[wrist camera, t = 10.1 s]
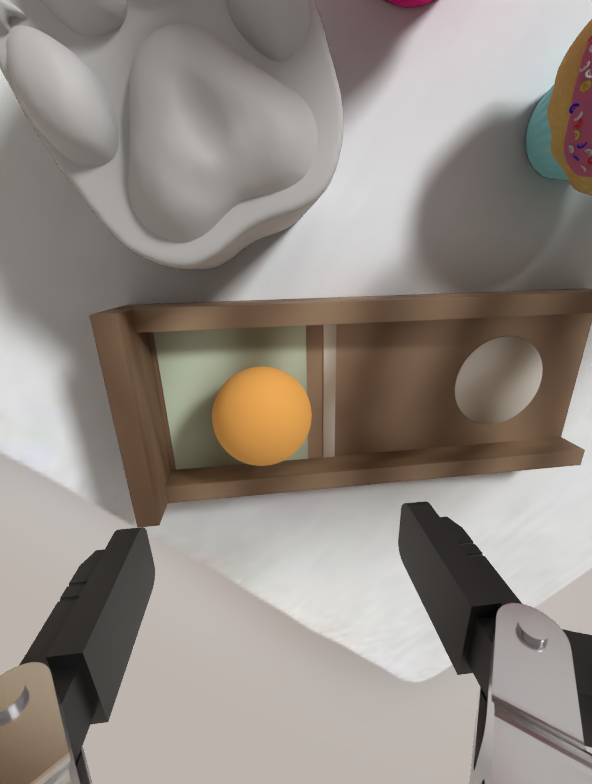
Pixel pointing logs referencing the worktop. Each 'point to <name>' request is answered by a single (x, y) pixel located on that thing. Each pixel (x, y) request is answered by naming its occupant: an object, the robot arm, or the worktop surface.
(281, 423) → the ball
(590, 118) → the cupcake
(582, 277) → the worktop surface
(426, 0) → the pepper mill
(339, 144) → the lumpy-topped squat cylinder
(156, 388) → the wooden tray
